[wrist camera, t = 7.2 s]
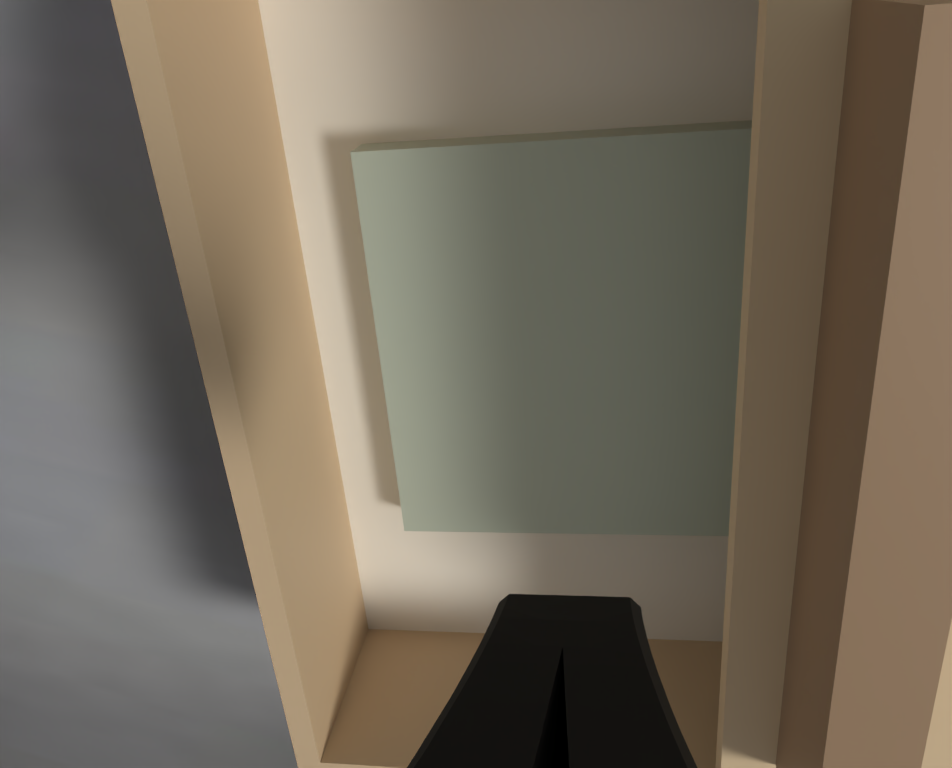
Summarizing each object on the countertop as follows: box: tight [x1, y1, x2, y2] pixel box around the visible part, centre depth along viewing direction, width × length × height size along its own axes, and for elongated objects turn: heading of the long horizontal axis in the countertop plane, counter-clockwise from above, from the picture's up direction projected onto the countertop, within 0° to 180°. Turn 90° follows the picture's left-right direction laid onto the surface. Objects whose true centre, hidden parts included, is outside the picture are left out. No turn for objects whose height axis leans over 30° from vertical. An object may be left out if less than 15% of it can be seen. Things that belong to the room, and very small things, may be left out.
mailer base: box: [111, 0, 759, 768], centre depth 15 cm, size 16×18×4 cm
